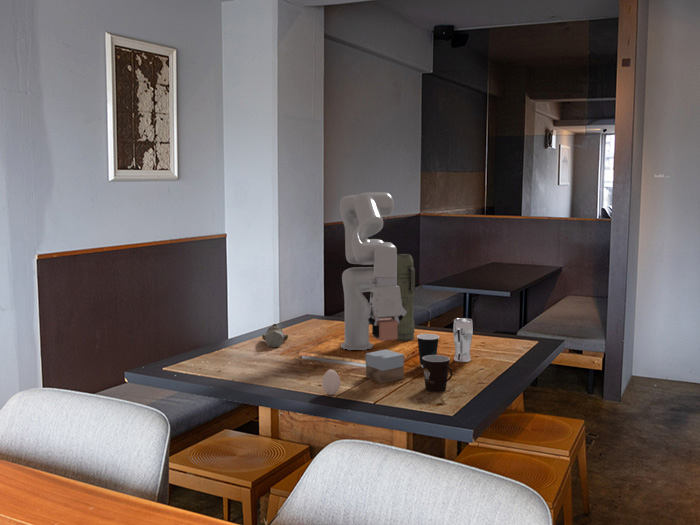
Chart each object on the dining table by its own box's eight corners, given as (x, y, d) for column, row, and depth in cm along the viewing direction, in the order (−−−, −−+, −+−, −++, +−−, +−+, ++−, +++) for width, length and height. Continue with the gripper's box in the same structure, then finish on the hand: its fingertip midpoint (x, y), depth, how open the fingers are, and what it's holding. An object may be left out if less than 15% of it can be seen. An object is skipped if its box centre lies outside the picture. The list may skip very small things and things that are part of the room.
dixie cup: (415, 363, 256) (415, 333, 255) (437, 363, 256) (438, 333, 255) (417, 369, 248) (417, 338, 247) (440, 369, 248) (440, 338, 247)
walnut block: (366, 377, 240) (366, 364, 239) (387, 373, 245) (387, 360, 244) (381, 384, 232) (381, 370, 232) (403, 379, 237) (403, 366, 237)
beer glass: (471, 363, 257) (472, 322, 255) (452, 362, 258) (452, 321, 256) (472, 358, 264) (473, 318, 262) (453, 357, 265) (454, 317, 263)
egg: (341, 396, 218) (341, 371, 217) (324, 398, 217) (323, 372, 216) (338, 391, 223) (338, 366, 223) (320, 392, 222) (320, 367, 221)
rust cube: (373, 337, 238) (373, 319, 237) (389, 335, 240) (389, 318, 239) (380, 340, 232) (380, 322, 232) (397, 339, 234) (397, 321, 234)
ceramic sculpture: (260, 326, 278) (262, 321, 293) (260, 348, 278) (262, 342, 293) (287, 326, 278) (288, 321, 293) (287, 348, 279) (288, 342, 294)
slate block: (365, 365, 239) (365, 353, 238) (386, 360, 244) (386, 349, 244) (382, 370, 232) (382, 358, 231) (403, 366, 237) (403, 354, 236)
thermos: (399, 334, 303) (400, 252, 299) (421, 338, 295) (422, 254, 291) (385, 337, 297) (386, 254, 293) (407, 342, 289) (407, 256, 285)
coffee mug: (419, 385, 229) (420, 355, 228) (446, 384, 230) (446, 354, 229) (426, 396, 218) (427, 364, 217) (454, 395, 219) (454, 364, 217)
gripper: (365, 285, 227) (365, 340, 229) (413, 282, 234) (413, 336, 236) (356, 282, 234) (356, 336, 236) (403, 279, 241) (403, 331, 243)
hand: (385, 335), depth 236 cm, fingers closed on rust cube, 6 cm apart
